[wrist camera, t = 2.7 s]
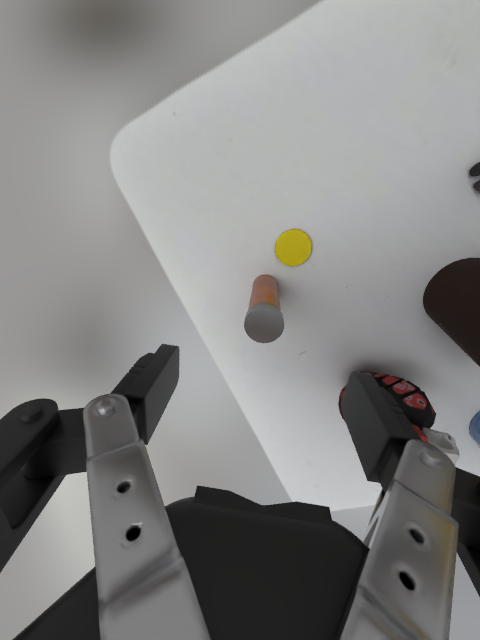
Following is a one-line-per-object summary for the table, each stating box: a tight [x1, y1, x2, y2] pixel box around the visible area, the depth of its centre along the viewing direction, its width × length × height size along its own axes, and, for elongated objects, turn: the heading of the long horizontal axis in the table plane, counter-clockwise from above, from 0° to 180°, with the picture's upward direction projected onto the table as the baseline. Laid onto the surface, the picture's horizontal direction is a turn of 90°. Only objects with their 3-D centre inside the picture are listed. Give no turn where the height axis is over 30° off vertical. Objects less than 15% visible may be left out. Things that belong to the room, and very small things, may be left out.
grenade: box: [339, 372, 459, 466], centre depth 23 cm, size 5×8×10 cm, turn 99°
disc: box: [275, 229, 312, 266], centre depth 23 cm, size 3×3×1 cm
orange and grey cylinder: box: [244, 275, 284, 343], centre depth 21 cm, size 3×3×9 cm
